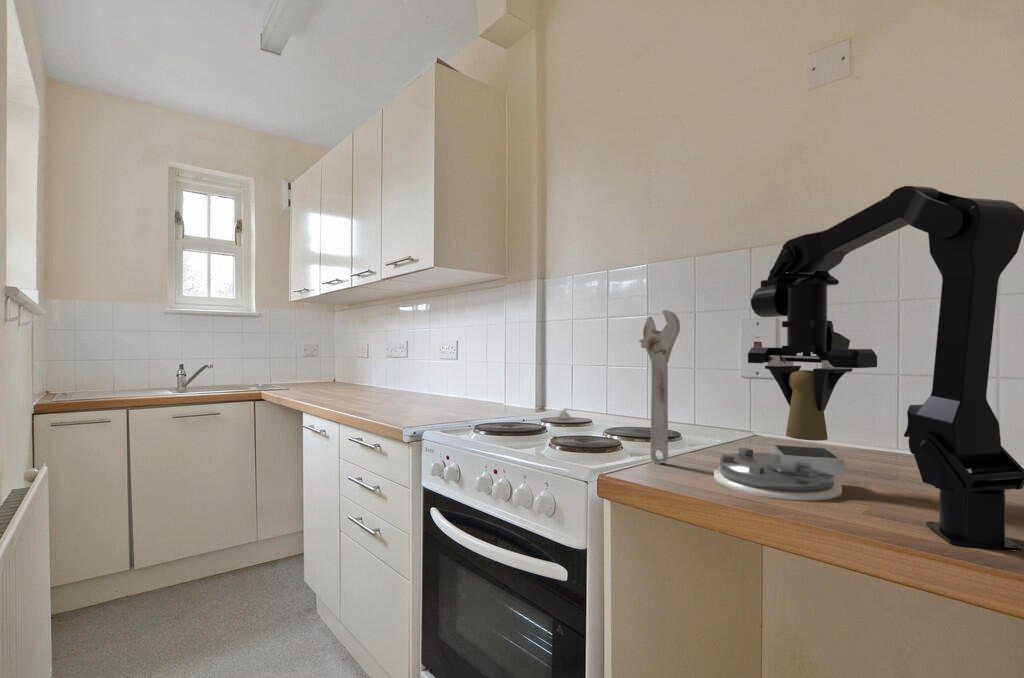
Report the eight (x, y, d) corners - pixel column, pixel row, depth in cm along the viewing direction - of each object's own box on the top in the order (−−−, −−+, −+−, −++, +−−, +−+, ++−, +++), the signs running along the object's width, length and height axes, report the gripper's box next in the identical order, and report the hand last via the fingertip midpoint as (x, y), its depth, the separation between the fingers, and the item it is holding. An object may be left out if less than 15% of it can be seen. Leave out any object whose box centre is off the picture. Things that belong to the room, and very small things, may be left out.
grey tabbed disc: (725, 485, 79) (725, 457, 79) (716, 460, 95) (716, 436, 95) (853, 496, 74) (853, 466, 74) (820, 467, 90) (820, 442, 90)
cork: (779, 433, 86) (779, 369, 86) (816, 433, 86) (817, 369, 86) (795, 440, 80) (795, 371, 80) (835, 441, 80) (835, 372, 80)
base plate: (860, 508, 72) (860, 499, 72) (718, 495, 78) (718, 487, 78) (822, 473, 91) (822, 466, 91) (710, 465, 96) (710, 458, 96)
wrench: (637, 460, 100) (638, 310, 100) (642, 458, 102) (642, 311, 102) (675, 467, 95) (676, 309, 95) (680, 465, 96) (680, 309, 96)
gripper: (897, 313, 78) (897, 413, 78) (786, 318, 95) (786, 400, 95) (855, 311, 73) (855, 418, 73) (745, 316, 90) (745, 403, 90)
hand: (806, 409), depth 83 cm, fingers closed on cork, 4 cm apart
